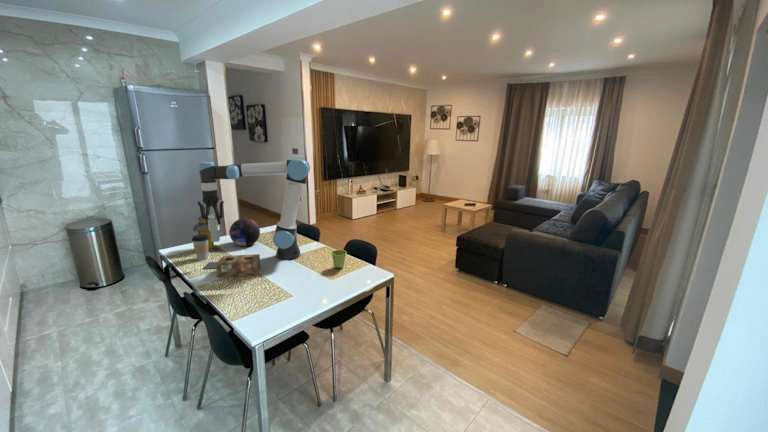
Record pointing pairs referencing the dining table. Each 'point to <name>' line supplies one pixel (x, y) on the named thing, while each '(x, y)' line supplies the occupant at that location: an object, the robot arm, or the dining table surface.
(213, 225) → the plug
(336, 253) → the plant pot
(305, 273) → the dining table surface
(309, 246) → the dining table surface
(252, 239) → the decorative sphere
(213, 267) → the mat
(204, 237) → the coffee cup
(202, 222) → the lantern
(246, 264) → the socket block
